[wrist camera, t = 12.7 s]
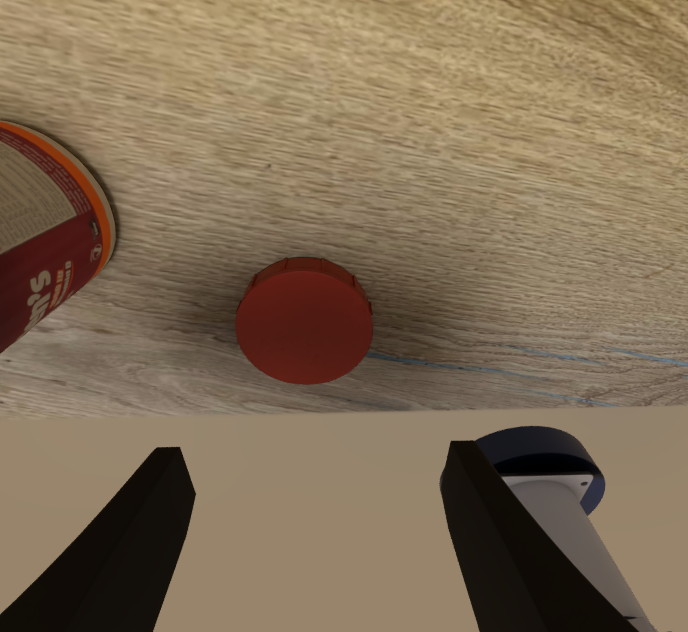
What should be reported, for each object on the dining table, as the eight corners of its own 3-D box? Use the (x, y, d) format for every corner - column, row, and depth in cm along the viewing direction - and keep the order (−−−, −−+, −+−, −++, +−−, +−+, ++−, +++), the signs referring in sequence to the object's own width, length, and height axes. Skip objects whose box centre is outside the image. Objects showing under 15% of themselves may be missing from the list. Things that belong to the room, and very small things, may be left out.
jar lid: (374, 257, 16) (378, 272, 14) (366, 365, 19) (368, 385, 18) (234, 255, 15) (226, 270, 14) (248, 365, 18) (243, 384, 17)
